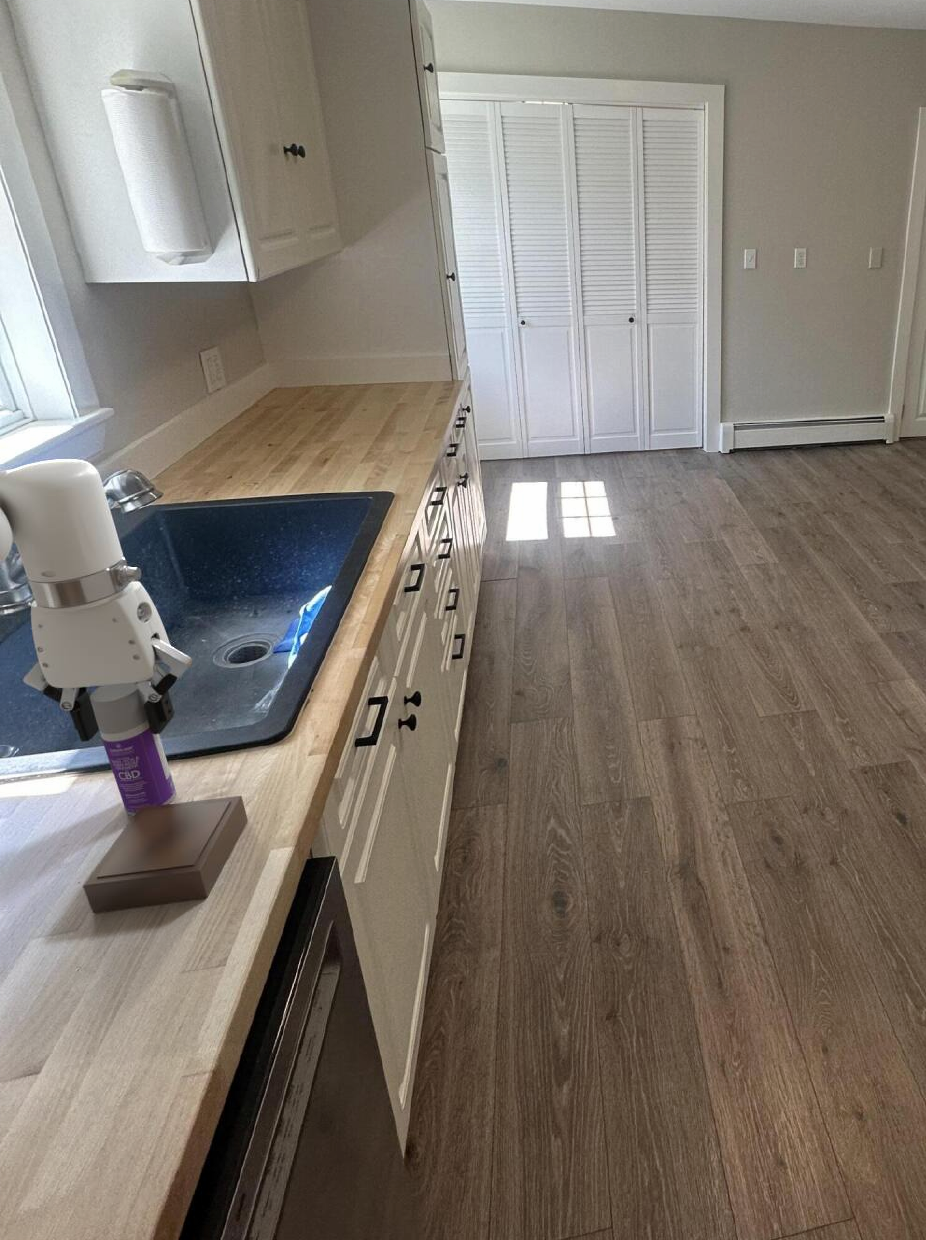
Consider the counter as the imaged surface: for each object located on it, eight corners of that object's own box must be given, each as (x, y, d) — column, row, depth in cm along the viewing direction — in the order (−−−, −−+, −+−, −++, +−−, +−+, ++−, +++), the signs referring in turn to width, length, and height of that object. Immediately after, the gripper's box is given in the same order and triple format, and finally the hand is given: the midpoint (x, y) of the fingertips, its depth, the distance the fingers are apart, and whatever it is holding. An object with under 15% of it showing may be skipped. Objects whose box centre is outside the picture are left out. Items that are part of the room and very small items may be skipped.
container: (127, 823, 80) (88, 708, 75) (124, 798, 84) (87, 687, 79) (178, 803, 83) (144, 691, 78) (173, 780, 87) (141, 671, 82)
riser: (92, 913, 70) (81, 885, 69) (147, 832, 79) (139, 806, 78) (207, 898, 72) (198, 870, 70) (248, 820, 81) (241, 794, 80)
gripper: (193, 560, 79) (229, 700, 85) (10, 572, 76) (61, 716, 82) (157, 592, 72) (199, 743, 78) (-45, 607, 69) (15, 762, 75)
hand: (128, 728), depth 80 cm, fingers open, 6 cm apart
